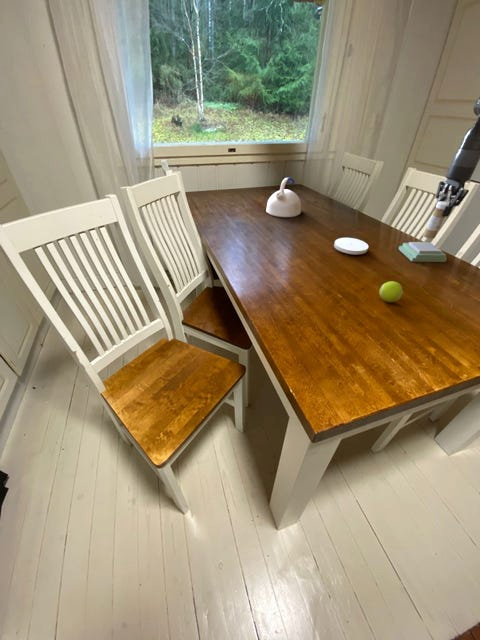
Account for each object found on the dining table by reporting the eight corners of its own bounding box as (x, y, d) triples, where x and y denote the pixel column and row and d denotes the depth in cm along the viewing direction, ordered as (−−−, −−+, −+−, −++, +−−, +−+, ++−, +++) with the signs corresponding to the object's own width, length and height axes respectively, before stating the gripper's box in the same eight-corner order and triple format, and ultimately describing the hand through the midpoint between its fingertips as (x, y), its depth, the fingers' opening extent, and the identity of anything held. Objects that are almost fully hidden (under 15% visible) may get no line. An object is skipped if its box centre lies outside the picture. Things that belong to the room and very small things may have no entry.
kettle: (259, 213, 156) (261, 178, 145) (275, 204, 170) (278, 172, 159) (292, 220, 148) (297, 183, 137) (306, 210, 162) (311, 176, 151)
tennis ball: (378, 292, 93) (385, 275, 89) (399, 298, 91) (407, 281, 86) (374, 302, 89) (381, 284, 84) (397, 308, 86) (405, 290, 82)
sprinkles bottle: (430, 234, 113) (447, 200, 104) (437, 239, 110) (454, 204, 101) (420, 234, 113) (435, 200, 104) (426, 239, 110) (442, 204, 101)
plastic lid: (373, 252, 118) (375, 246, 116) (351, 259, 112) (353, 253, 111) (348, 240, 127) (350, 235, 126) (326, 246, 122) (328, 241, 120)
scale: (429, 249, 121) (432, 243, 119) (445, 262, 112) (449, 255, 110) (398, 249, 121) (400, 242, 119) (411, 261, 112) (414, 254, 110)
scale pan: (428, 245, 118) (429, 242, 117) (440, 254, 111) (442, 251, 110) (407, 245, 118) (409, 241, 117) (418, 254, 111) (420, 250, 110)
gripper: (489, 168, 89) (461, 220, 100) (461, 160, 100) (439, 208, 111) (466, 167, 89) (441, 220, 100) (441, 160, 100) (421, 208, 111)
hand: (440, 213), depth 105 cm, fingers closed on sprinkles bottle, 4 cm apart
